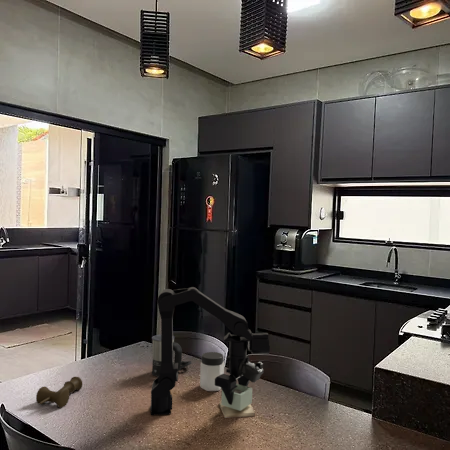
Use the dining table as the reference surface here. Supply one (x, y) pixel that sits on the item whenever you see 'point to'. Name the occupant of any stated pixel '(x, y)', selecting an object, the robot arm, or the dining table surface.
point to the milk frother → (157, 355)
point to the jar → (211, 370)
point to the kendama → (59, 393)
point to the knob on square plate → (236, 413)
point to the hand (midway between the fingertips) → (236, 400)
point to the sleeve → (239, 398)
